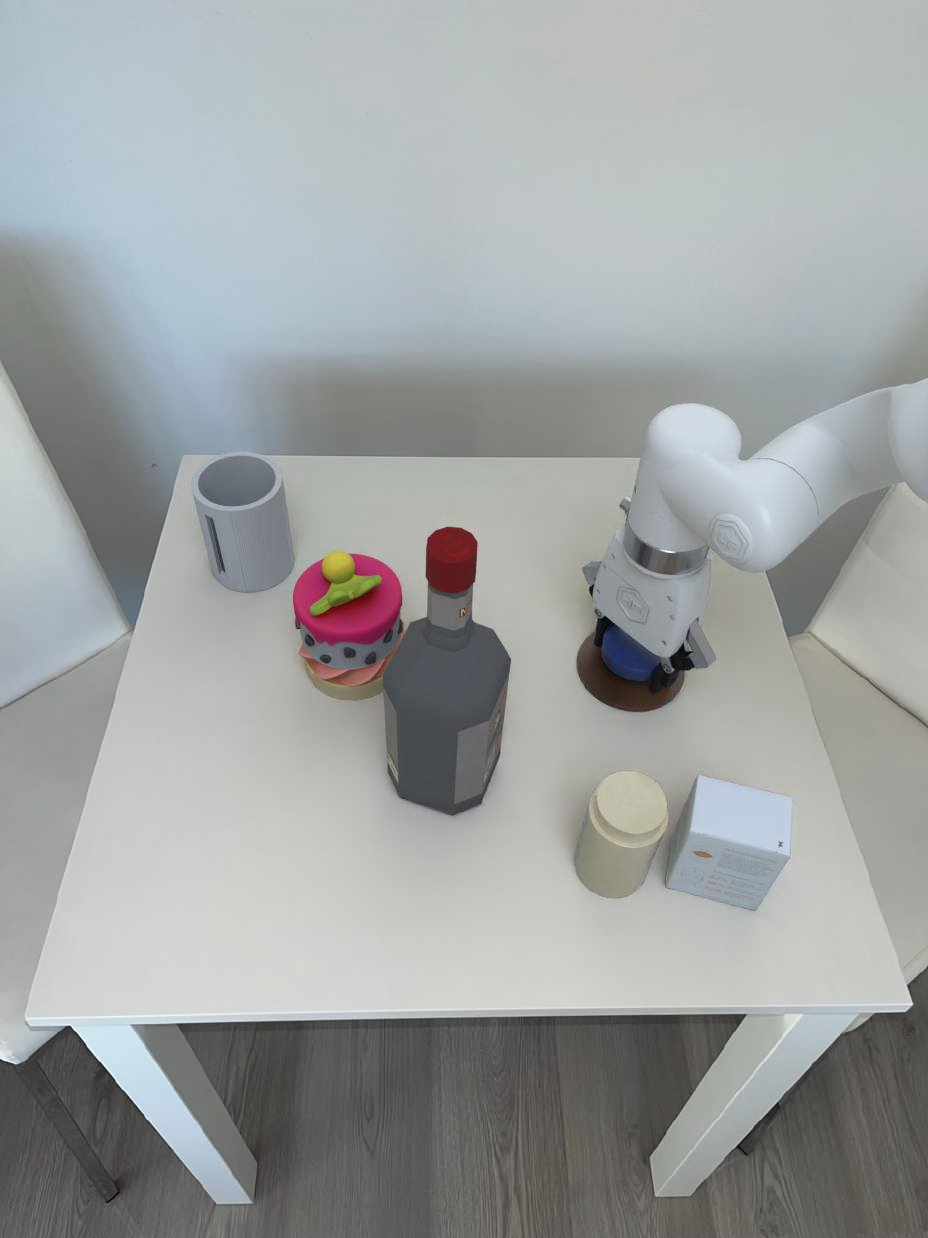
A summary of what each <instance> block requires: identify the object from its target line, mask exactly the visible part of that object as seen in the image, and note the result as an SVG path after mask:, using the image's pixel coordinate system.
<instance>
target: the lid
mask: <svg viewBox="0 0 928 1238" xmlns="http://www.w3.org/2000/svg"><path fill="white" fill-rule="evenodd" d="M601 654H602V658H603V660H604V662H605V664H606V665H607V667H608V668H609V669H610V670H611V671H612V672H614V673H615V674H617V675H618V676H620V677H623V678H625V679H628V680H633V681H646V680H651V679H652V677H653V674H654V671H655V668H656V666H657V665H658V664H660V663H661V659H660V656H657V655H655V654H654V653H652V652H651V651H649V650H648V649H646V648H645V647H644V646H643V645H641V644H640V643H639V642H637V641H636V640H635V639H634V638H632V637H631V636H630V635H629V634H627V633H626V632H625V631H623V630H622V629H621V628H620V627H619V626H617V625H616V624H615V623H614V622H613V623H611V624H610V625H609V626H608V627H607V629H606V630H605V633H604V636H603V642H602V647H601Z"/></svg>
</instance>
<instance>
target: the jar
mask: <svg viewBox="0 0 928 1238" xmlns="http://www.w3.org/2000/svg"><path fill="white" fill-rule="evenodd" d="M667 802H668V800H667V797H666V795H665V792H664V790H663V789H662V787H661V786H660V785H659V784H658V783H657V782H656V781H655V780H654V779H653V778H651V777H650V776H648V775H646V774H644V773H641V772H639V771H633V770H621V771H614V772H613V773H611V774H609V775H606V776H605V777H603V779H602V780H600V782H599V783H598V785H597V786H596V787H595V789H594V790H593V791H592V793H591V795H590V798H589V799H588V804H587V808H586V813H585V815H584V819H583V822H582V826H581V830H580V834H579V837H578V841H577V845H576V848H575V852H574V857H573V863H574V868H575V869H574V870H575V872H576V875H577V876H578V878H579V880H580V881H581V883H582V884H583V885H584V886H585V888H587V889H588V890H589V891H591V892H592V893H594V894H596V895H598V896H600V897H604V898H607V899H621V898H625V897H628V896H631V895H632V894H634V893H636V892H637V891H638V890H639V889H640V888H641V887H642V885H643V884H644V883H645V880H646V878H647V875H648V873H649V871H650V868H651V866H652V864H653V861H654V859H655V856H656V854H657V851H658V848H659V846H660V845H661V842H662V840H663V837H664V836H665V835H664V834H665V832H666V829H667V827H668V823H669V811H668V803H667Z"/></svg>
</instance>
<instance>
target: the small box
mask: <svg viewBox="0 0 928 1238" xmlns="http://www.w3.org/2000/svg"><path fill="white" fill-rule="evenodd" d="M693 781H694V782H693V783H692V785H691V787H690V791H689V792H688V796H687V798H686V800H685V802H684V804H683V808H682V810H681V812H680V814H679V817H678V819H677V822H676V824H675V827H674V830H673V831H672V837H671V843H670V850H669V857H668V862H667V868H666V869H667V870H666V877H665V883H664V884H665V888H667V889H670V890H675V891H679V892H682V893H686V894H689V895H694V896H697V897H702V898H705V899H709V900H712V901H717V902H721V903H725V904H729V905H732V906H737V907H741V908H743V909H747V910H751V911H758V909H759V907H760V906H761V904H762V902H763V901H764V899H765V898H766V896H767V895H768V893H769V891H770V889H771V888H772V887H773V885H774V883H775V882H776V880H777V879H778V877H779V876H780V874H781V873H782V872H783V870H784V868H785V867H786V865H787V863H788V862H789V860H790V858H791V848H792V847H791V845H792V824H793V806H794V804H793V803H794V798H793V796H790V795H785V794H782V793H777V792H773V791H770V790H769V791H768V790H764V789H760V788H756V787H753V786H748V785H745V784H740V783H735V782H732V781H727V780H723V779H718V778H715V777H710V776H706V775H703V774H696V776H695V779H694V780H693Z"/></svg>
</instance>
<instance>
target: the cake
mask: <svg viewBox="0 0 928 1238" xmlns="http://www.w3.org/2000/svg"><path fill="white" fill-rule="evenodd" d="M292 603H293V610H294V617H295V618H294V625H295V629H296V630H299V631H300V637H301V642H302V645H301V646H300V648H299V649H298V653H297V655H298V656H300V657H301V658H303V659H304V663H305V669H306V674H307V677H308V678H309V680H310V682H311V683H312V685H313V686H314V687H315V688H316V689H317V690H319V691H320V692H322V693H323V694H325V696H329V697H330V698H331V697H332V698H335V699H338V700H344V701H359V700H364V699H369V698H372V697H374V696H376V695H379V694H381V693H384V688H383V674H384V672H385V670H386V668H387V666H388V664H389V662H390V660H391V659H392V657H393V655H394V653H395V651H396V649H397V647H398V645H399V643H400V642H401V640H402V638H403V636H404V634H405V623H404V621H403V619H402V617H401V610H402V607H403V588H402V584H401V581H400V579H399V577H398V576H397V574H396V573H395V571H394V570H393V569H392V568H391V567H390V566H388V565H387V564H386V563H384V562H383V561H381V560H379V559H378V558H375V557H372V556H370V555H365V554H361V553H348V552H346V551H344V550H333V551H330V552H329V553H327V554H326V555H325V556H324V557H323V558H321V559H320V560H317V561H316V562H314V563H312V564H311V565H310V566H309V567H307V568H306V569H305V570H304V571H303V572H302V574H301V575H300V576H299V577H298V579H297V581H296V582H295V585H294V588H293V591H292Z"/></svg>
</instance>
